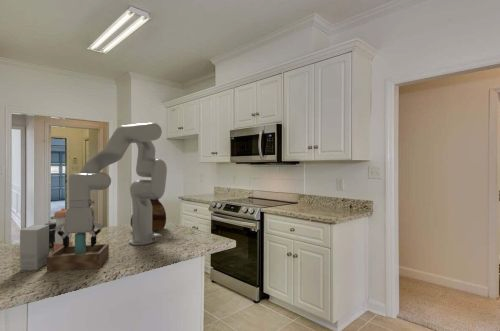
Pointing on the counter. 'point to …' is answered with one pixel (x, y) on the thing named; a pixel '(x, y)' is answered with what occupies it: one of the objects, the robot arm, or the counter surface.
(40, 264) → the skincare box
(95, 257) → the box
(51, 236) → the battery charger
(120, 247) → the counter surface
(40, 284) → the counter surface
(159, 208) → the ceramic pitcher
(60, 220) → the salt shaker
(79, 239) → the peg
